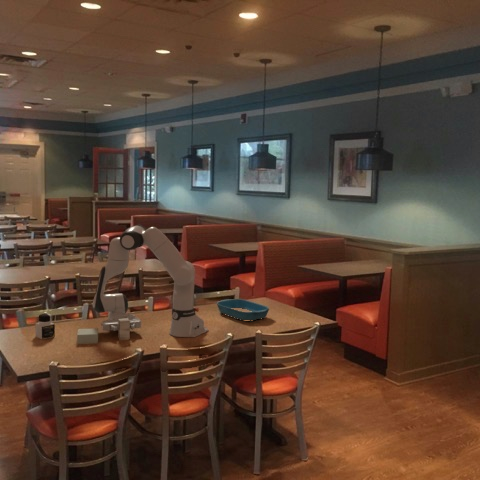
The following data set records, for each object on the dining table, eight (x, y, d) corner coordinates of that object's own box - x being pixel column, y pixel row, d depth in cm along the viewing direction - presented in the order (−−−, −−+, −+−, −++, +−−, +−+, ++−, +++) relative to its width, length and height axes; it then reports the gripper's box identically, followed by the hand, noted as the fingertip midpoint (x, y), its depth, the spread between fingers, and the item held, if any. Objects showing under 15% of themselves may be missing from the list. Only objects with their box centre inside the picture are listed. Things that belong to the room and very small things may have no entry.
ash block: (118, 337, 281) (118, 318, 279) (127, 336, 283) (127, 318, 281) (119, 340, 276) (120, 321, 275) (129, 339, 278) (129, 320, 277)
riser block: (78, 338, 278) (78, 329, 277) (98, 337, 280) (98, 328, 279) (77, 344, 268) (77, 334, 267) (97, 343, 270) (97, 334, 270)
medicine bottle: (41, 339, 272) (41, 316, 271) (35, 336, 277) (35, 314, 275) (55, 337, 277) (54, 314, 276) (48, 333, 282) (48, 311, 281)
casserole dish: (210, 311, 340) (210, 300, 339) (237, 307, 354) (237, 296, 353) (248, 325, 312) (248, 313, 311) (275, 320, 326) (276, 308, 325)
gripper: (99, 317, 286) (103, 324, 273) (137, 314, 294) (143, 321, 281) (99, 328, 287) (103, 336, 274) (137, 325, 295) (143, 332, 282)
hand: (124, 328), depth 278 cm, fingers open, 8 cm apart
